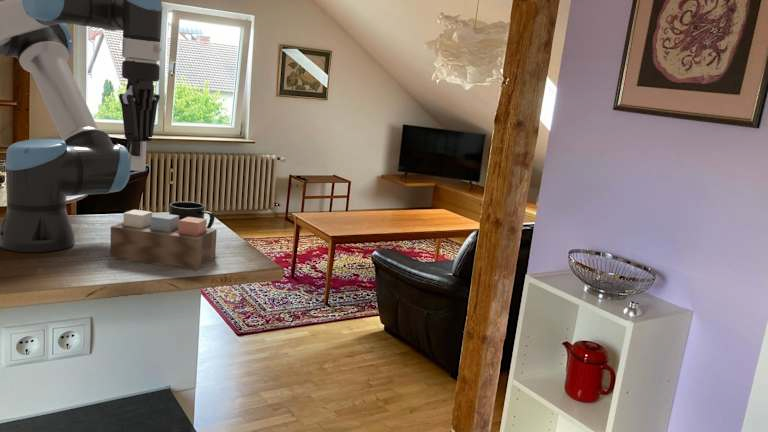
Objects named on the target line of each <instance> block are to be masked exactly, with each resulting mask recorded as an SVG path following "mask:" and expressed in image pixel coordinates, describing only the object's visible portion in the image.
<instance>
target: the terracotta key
mask: <svg viewBox="0 0 768 432" xmlns="http://www.w3.org/2000/svg"><path fill="white" fill-rule="evenodd" d="M207 221H208V220H207V219H206V218H204V219H201V218H194V217H186V218H184V219H182V220H179V233H181V234H188V235H195V236H200V235H202V234H204V233H206V228H207Z"/></svg>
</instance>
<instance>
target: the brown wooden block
mask: <svg viewBox="0 0 768 432" xmlns="http://www.w3.org/2000/svg"><path fill="white" fill-rule="evenodd" d="M216 247H217V228H212V227H211V228H207V227H206V233H204V234H202V235H200V236H195V235H188V234H181V233H179V228H178V229H176V230H174V231H172V232H167V231H159V230H152V229H151V225H149V226H147V227H144V228H138V227H131V226H124V225H123V221H122V222H120V223H118V224H115V225H111V226H110V248H109V249H110V251H109V252H110V253H109V254H110V258H111V259H117V260H123V261H124V260H125V261H132V262H139V263H144V264H149V265H150V264H151V265H158V266H165V267H169V268H171V267H172V268H179V269H185V270H191V271H197V270H199V269H201V268H203V267H204V266H206V265H207V264H210V263H211V262H212V261H214V260H215V259H216V250H217V249H216Z"/></svg>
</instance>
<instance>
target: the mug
mask: <svg viewBox="0 0 768 432" xmlns="http://www.w3.org/2000/svg"><path fill="white" fill-rule="evenodd" d="M168 209H169V210H168V214H171V215H179V220H182V219H184V218H186V217H194V218H201V219H205V214H207V215H209V221H208V224H207V225H206V228H211V229H212V226H213V225H214V222H215V217H216V216H215V213H214V212H212V211H208V210H207V211H206V210H205V204H202V203H199V202H193V201H174V202H171V203H170V204H169V207H168Z"/></svg>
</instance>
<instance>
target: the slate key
mask: <svg viewBox="0 0 768 432" xmlns="http://www.w3.org/2000/svg"><path fill="white" fill-rule="evenodd" d="M178 228H179V215H171V214H169V213H163V212H162V213H161V212H160V213H158V214H155V215H152V217H151V229H152V230H159V231H167V232H172V231H174V230H176V229H178Z"/></svg>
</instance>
